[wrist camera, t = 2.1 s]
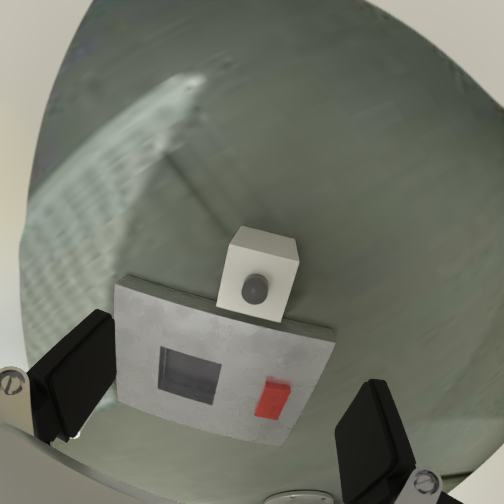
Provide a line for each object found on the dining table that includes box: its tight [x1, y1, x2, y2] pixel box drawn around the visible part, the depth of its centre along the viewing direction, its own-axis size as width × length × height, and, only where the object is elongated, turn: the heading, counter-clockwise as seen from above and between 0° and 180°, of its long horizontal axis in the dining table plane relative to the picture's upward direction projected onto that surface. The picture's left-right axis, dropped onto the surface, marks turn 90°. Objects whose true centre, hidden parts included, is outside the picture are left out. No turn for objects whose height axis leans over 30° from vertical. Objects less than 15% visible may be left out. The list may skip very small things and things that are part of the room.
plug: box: [216, 225, 299, 322], centre depth 21 cm, size 4×4×7 cm
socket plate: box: [114, 275, 336, 447], centre depth 27 cm, size 20×16×3 cm
